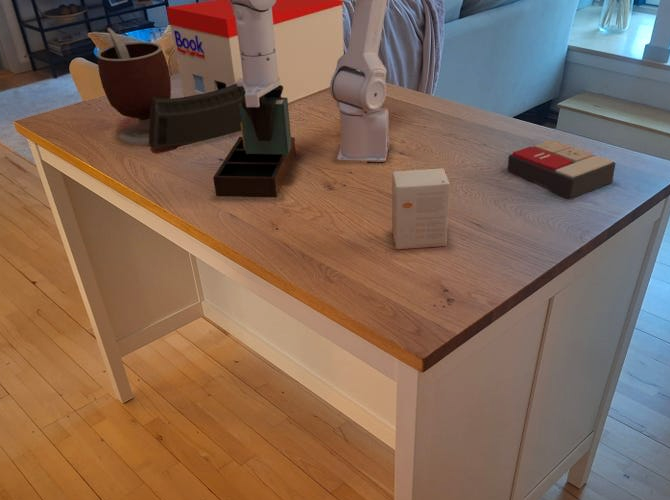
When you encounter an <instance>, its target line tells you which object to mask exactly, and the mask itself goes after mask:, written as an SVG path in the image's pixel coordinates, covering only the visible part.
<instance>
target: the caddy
mask: <svg viewBox="0 0 670 500" xmlns="http://www.w3.org/2000/svg"><path fill="white" fill-rule="evenodd" d="M291 144H292V147H291V149H290V151H289V154H246V151H245V149H244V146H243V138H242V136H239V137H238V138H237V140H236V142H235V143H234V145H233V146H232V148H231V149H230V150H229V152H228V154H227V155H226V157H225V158H224V160H223V161H222V162H221V165H220V166H219V167H218V169H217V171H216V173H215V174H214V176H213V177H212V180H213V184H214V192H215V197H228V198H229V197H231V198H232V197H234V198H236V197H237V198H277V197H278V196H279V194H280V191H281V190H282V187H283V184H284V183H285V180H286V178H287V176H288V175H289V174H288V173H289V172H290V169H291V167H292V165H293V163H294V161H295V159H296V156H297V149H296V137H295V136H291Z"/></svg>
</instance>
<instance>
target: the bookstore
mask: <svg viewBox="0 0 670 500" xmlns="http://www.w3.org/2000/svg"><path fill="white" fill-rule="evenodd" d="M343 5H344V2H343V0H276V2H275V4H274V6H272V16H273V27H274V37H275V48H276V58H277V68H278V76H279V78H280V85H282V86H283V92H282V94H281V98H287V99H288V104H290V103H292V102H295V101H297V100H300V99H302V98H306V97H309V96H311V95H313V94H315V93H318V92H321V91H323V90H324V91H325V90H326V89H330V82H331V79H332V76H333V74H334V73H335V70H336V67H337V61H338V59H339V58H340V57H341V56H343V55H344V54H345V46H344V42H345V41H344V17H343V16H344V14H343V12H344V11H343ZM166 13H167V18H168V24H169V26H170V30H171V31H170V32H171V36H172V37H171V38H172V42H173V48H174V52H175V57H176V63H177V68H178V73H179V78H180V84H181V89H182V90H181V91H182V95H183V97H187V96H192V95H198V94H204V93H208V92H212V91H216V90H219V89H222V88H225V87H229V86H231V85H234V84H236V83H237V80H238V79H240V78H243V73H242V65H241V57H240V50H239V42H238V34H237V26H236V18H235V15H234V13H233V7H232V5H231V3H230V2H229V1H228V0H208V1H199V2H193V3H192V2H191V3H186V4H177V5H172V6H166Z"/></svg>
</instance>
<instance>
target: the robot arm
mask: <svg viewBox="0 0 670 500" xmlns="http://www.w3.org/2000/svg"><path fill="white" fill-rule="evenodd" d="M228 1H229V2H230V3H231V5H232V7H233V13H234V15H235V18H236V26H237V34H238V42H239V50H240V57H241V65H242V73H243V78H240V79H238V80H237V86H242V87H243V88H244V90H245V93H246V94H245V97H243V99H242V100H241V104H242V107H243V108H244V110H245V111H246V112H247V114H248V116H249V117H250V120H251V122H252V124H253V127H254V130H255V133H256V136H257V138H258V140H259V141H270V140H271V136H272V117H273V110H274V107H275V104H276V101H277V99H267V98H280V97H281V94H282V92H283V86H282V85H280V78H279V76H278V68H277V58H276V48H275V37H274V27H273V16H272V6H274V4H275V2H276V0H228ZM387 4H388V0H355V2H354V9H353V15H352V22H351V29H350V36H349V42H348V48H347V50H346V52H344V55H343V56H341V57H340V58H339V59H338V61H337V67H336V70H335V73H334V74H333V76H332V79H331V82H330V87H329V91H330V92H329V93H330V95H331V97H332V98H333V100H334V101H336V107H337V108H338V109H339V131H340V148H339V151H338V153H337V157H336V160H337V161H364V162H365V161H366V162H369V163H385V162H386V161H387V158H388V157H387V156H388V151H389V149H390V137H389V129H390V128H389V125H390V123H389V120H390V119H389V118H390V117H389V109H388V108H383V107H382V106H383V104H384V102H385V100H386V97H387V84H386V82H387V81H386V79H387V68H386V66H385V65H384V63H383V62H382V60H381V59H380V57H379V51H380V44H381V38H382V33H383V28H384V21H385V16H386V10H387Z"/></svg>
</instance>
